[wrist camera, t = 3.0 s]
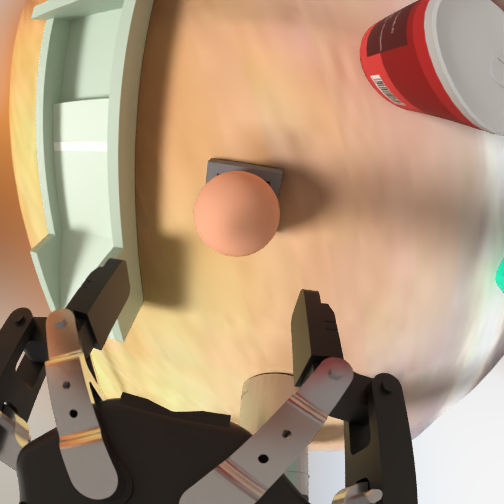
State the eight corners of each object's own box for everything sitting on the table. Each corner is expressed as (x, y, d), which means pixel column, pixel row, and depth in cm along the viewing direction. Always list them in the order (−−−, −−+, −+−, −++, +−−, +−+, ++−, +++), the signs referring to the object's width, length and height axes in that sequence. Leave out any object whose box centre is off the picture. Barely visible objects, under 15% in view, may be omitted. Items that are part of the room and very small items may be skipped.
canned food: (440, 118, 17) (534, 152, 8) (356, 101, 17) (432, 115, 8) (440, 37, 13) (532, 29, 3) (354, 13, 13) (419, -39, 4)
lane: (155, -7, 13) (119, -31, 8) (144, 305, 30) (124, 345, 24) (68, 12, 13) (24, 5, 7) (80, 288, 29) (56, 322, 24)
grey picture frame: (282, 169, 21) (282, 173, 20) (269, 231, 24) (269, 238, 23) (211, 158, 21) (207, 162, 20) (204, 221, 24) (201, 227, 23)
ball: (285, 169, 20) (290, 196, 15) (271, 236, 24) (270, 280, 18) (207, 156, 20) (185, 180, 15) (201, 225, 23) (182, 265, 18)
